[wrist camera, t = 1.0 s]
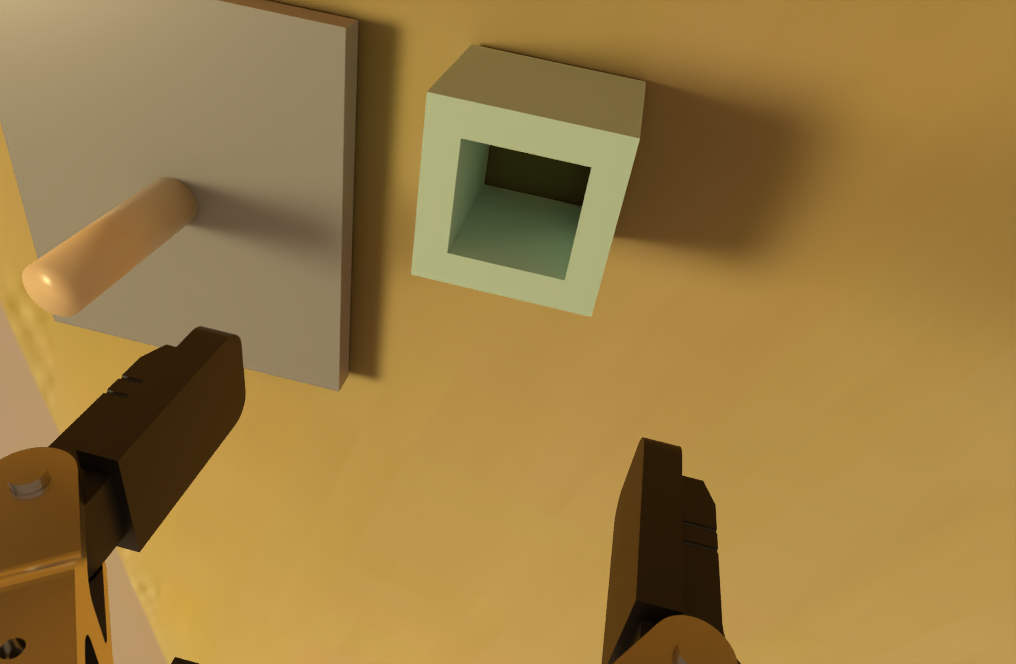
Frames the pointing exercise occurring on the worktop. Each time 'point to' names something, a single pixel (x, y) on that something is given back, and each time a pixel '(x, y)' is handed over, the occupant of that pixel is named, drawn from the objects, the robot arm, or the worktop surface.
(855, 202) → the worktop surface
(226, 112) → the board
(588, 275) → the collar
